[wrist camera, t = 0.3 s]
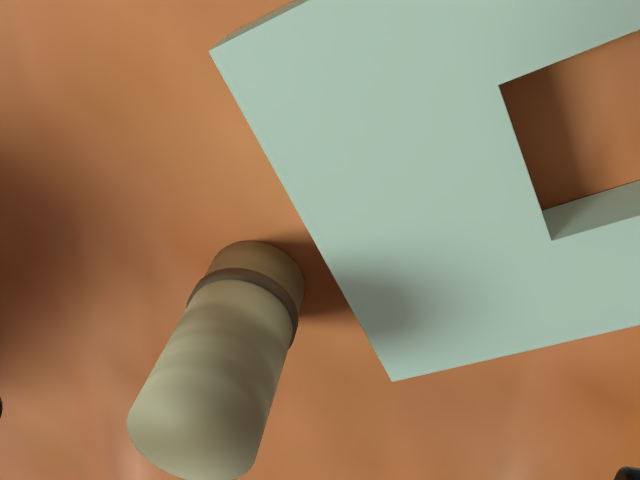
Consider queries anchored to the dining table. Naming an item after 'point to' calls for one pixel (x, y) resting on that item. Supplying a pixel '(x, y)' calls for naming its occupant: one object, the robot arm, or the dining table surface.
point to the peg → (221, 366)
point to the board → (437, 171)
